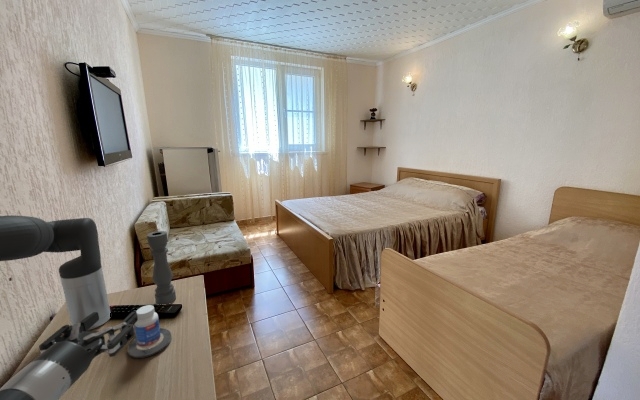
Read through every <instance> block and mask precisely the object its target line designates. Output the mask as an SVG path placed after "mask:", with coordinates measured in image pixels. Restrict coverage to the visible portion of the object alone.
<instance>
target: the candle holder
mask: <svg viewBox="0 0 640 400" xmlns="http://www.w3.org/2000/svg"><path fill="white" fill-rule="evenodd" d="M146 238H147V239H146V240H147V244H148V246H149V248H150V249H151V251H150V252H149V253H150V255H151V256H152V257H153V270H152V277H151V278H152V282H153V283H154V284H155V285H156V287H155V290H154V298H155V304H159V305H160V304H161V305H162V304H168V305H170V304H169V303H171V304H172V302H173V303H174V302H175V301H176V299H177V295H176V288H175V286H174V285H173V284H172V279H173V277H174V273H173V271H172V269H171V267H170V263H169V261H168V255H167V253H168V252H169V249H168V247H167V245H168V242H169V239H168V233H167V231H166V230H165V231H164V230H159V231H153V232H149V233H148V234H147V235H146Z"/></svg>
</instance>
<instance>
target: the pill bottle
mask: <svg viewBox="0 0 640 400" xmlns="http://www.w3.org/2000/svg"><path fill="white" fill-rule="evenodd" d="M135 312H136V313H137V317H138V321H137V322H136V323H135V324H134V325H133V326H134V333H135V338H137V344H138V346H139V347H141V348H146V347H150V346H152V345H154V344H156V343H157V342H158V341H159V340H160V337H161V335H160V327H161V326H160V322H159V321H160V319H159V314H158V313H157V312H156V311H155V307H154V305H151V304H148V305H143V306H141V307H138V309H137V310H136V311H135Z"/></svg>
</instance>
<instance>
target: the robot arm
mask: <svg viewBox="0 0 640 400" xmlns="http://www.w3.org/2000/svg"><path fill="white" fill-rule="evenodd" d="M76 251H80V255H79V256H77V257H74V258H72V259H69V260H68V261H65V262H64V263H62V264H61V265H60V266H59V268H58V274H59V278H60V282H61V286H62V290H63V295H64V299H65V304H66V307H67V312H68V316H69V317H68V318H69V321H70V324H71V325H69V324H65V325H63V326H61V327H60V328H59V329H57V331H55V332H54V333H52V335H50V336H49V337H48V338H47V339H46V340H44V341H43V342H42V343H41V344H39V345H38V347H39V352H40V354H39V355H38V356H36V358H35V359H32V361H31V362H29V363H28V364H26V365H25V366H24V367H23V368H22V369H20V371H18V372H17V373H15V374H14V375H13V376H12V377H10V379H9V380H7V381H6V382H5V383H4V384H3V386H2V387H0V400H59V399H60V398H61V397H62V396H63V395H64V394H65V393H66V392H68V391H69V389H70V388H71V387H72V386H73V385H74V384H75V382H77V381H78V380H79V379H80V378H81V376H82V375H84V374H85V372H87V370H88V369H89V367H90V365H91V364H92V361H93V360H94V359H95V358H96V357H98V356H99V355H101V354H102V353H108V356H109V357H115V356H116V355H117V354H118V353H119V352H121V350H122V349H123V348H124V347H125V346H127V344H128V343H129V342H131V341H132V340H133V339H134V338H135V337H134V336H136V332H135V325H134V324H135V323H136V322H137V321H138V317H137V313H136V311H132V312H130V313H129V314H128V315H127V316H126V317H125V318H124V319H123V320H122V321H121V323H118V324H116V325H114V326H107V327H105V328H103V329H101V330H96V331H91V330H93V329H96V328H98V327H100V326H102V325H103V324H105V323H107V322H108V321H109V320H110V319H111V317H110V313H111V308H110V302H109V298H108V297H109V296H108V292H107V287H106V283H105V282H106V280H105V277H104V271H103V266H102V261H101V260H102V259H101V258H102V256H101V250H100V242H99V232H98V229H97V225H96V222H95V220H93V219H92V218H89V217H80V218H70V219H69V218H67V219H57V220H51V221H46V220H44V219H42V218H38V217H35V216H27V215H9V214H8V215H0V262H8V261H15V260H21V259H28V258H32V257H36V256H39V255H40V254H43V253H53V254H54V253H57V254H58V253H68V252H69V253H70V252H76ZM119 330H120V332H117V331H119ZM116 332H117V333H116ZM106 334H107V335H108V339H107V340H106V339H105V338H106V337H105V335H106Z"/></svg>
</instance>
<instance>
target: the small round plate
mask: <svg viewBox="0 0 640 400" xmlns="http://www.w3.org/2000/svg"><path fill="white" fill-rule="evenodd" d="M160 335H161V337H160V340H159V341H158V342H157V343H156V344H154V345H152V346H150V347H146V348H141V347H139V346H138V344H137V338H136V337H134V338H133V339H132V340H131V341H130V343H129V344H128V347H127V353H128V355H129V356H130V357H131V358H135V359H143V358H144V359H145V358H147V357H151V356H154V355H156V354H157V353H159V352H161V351H164V349H165V348H166V347H167V346H168V345H169V344H170V342H171V340H172V332H171V331H170V330H169V329H166V328H160Z"/></svg>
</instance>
